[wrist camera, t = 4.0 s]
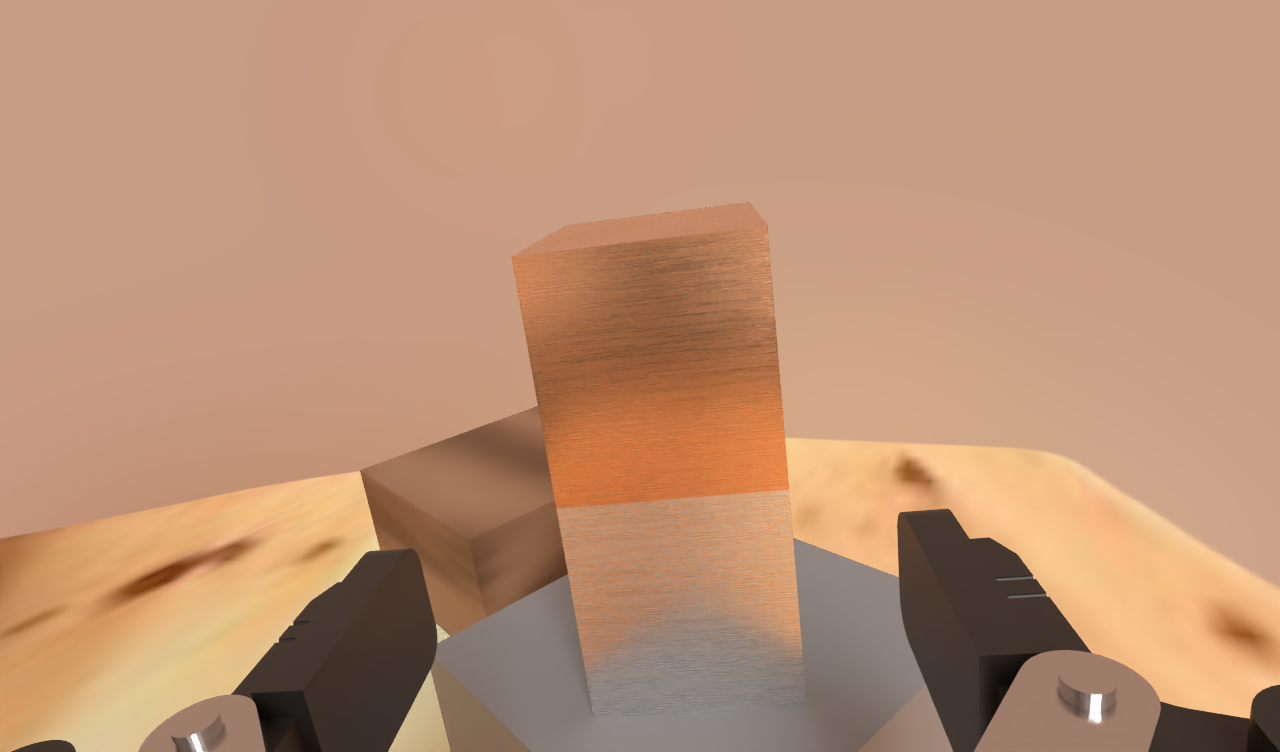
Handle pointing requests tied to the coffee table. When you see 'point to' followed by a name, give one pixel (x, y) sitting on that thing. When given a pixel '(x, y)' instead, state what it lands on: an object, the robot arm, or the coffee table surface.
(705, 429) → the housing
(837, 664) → the stand
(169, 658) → the coffee table surface
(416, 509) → the stand
